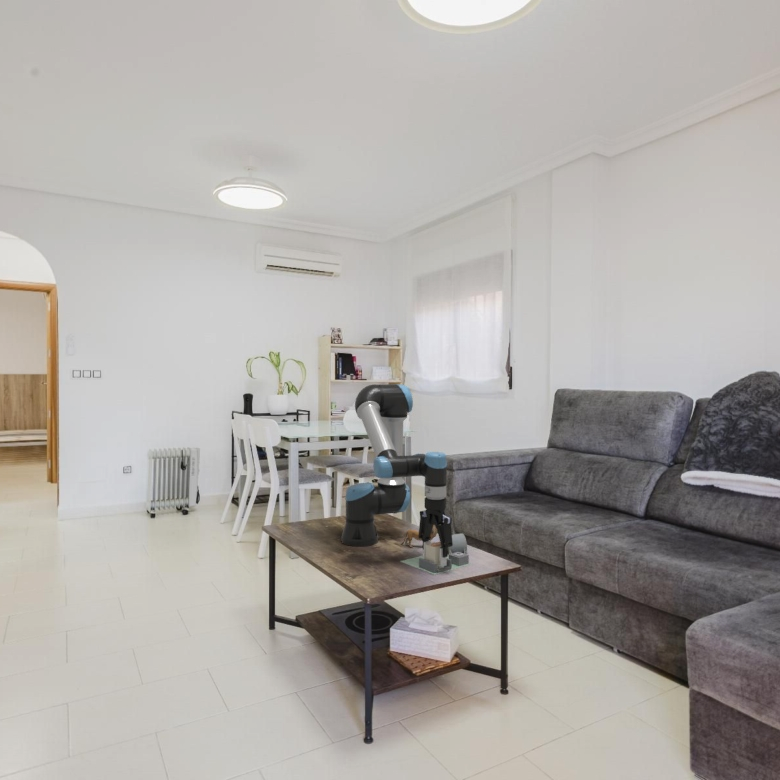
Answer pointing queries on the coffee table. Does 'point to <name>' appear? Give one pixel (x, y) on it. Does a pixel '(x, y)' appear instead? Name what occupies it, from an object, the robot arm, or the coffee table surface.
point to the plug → (433, 553)
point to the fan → (459, 558)
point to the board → (415, 563)
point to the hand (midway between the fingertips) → (434, 562)
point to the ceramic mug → (458, 544)
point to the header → (434, 565)
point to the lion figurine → (415, 535)
